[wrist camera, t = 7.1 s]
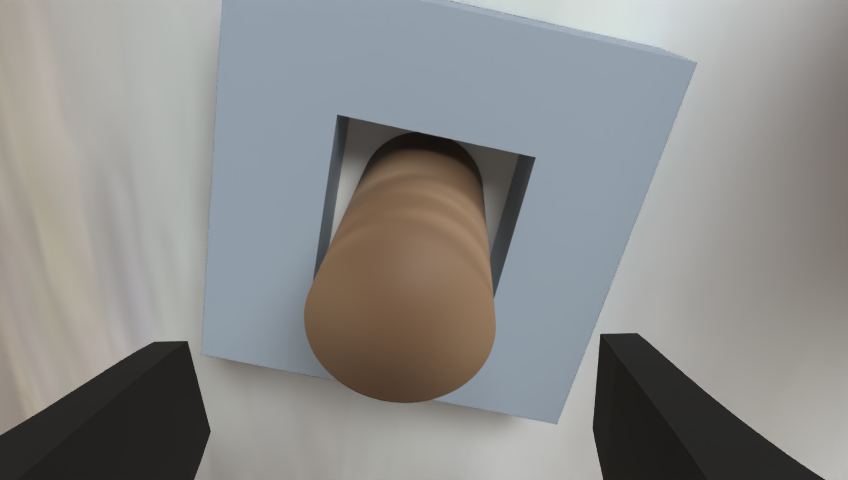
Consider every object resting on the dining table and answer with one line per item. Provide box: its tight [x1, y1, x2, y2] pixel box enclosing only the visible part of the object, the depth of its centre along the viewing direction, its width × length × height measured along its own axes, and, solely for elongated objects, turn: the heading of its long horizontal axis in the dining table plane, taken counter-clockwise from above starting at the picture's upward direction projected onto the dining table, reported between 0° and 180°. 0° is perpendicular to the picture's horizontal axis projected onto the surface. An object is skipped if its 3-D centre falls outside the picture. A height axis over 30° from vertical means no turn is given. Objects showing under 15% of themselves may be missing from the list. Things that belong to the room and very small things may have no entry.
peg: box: [304, 132, 496, 403], centre depth 16 cm, size 4×4×8 cm
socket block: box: [201, 0, 697, 424], centre depth 19 cm, size 12×12×3 cm
